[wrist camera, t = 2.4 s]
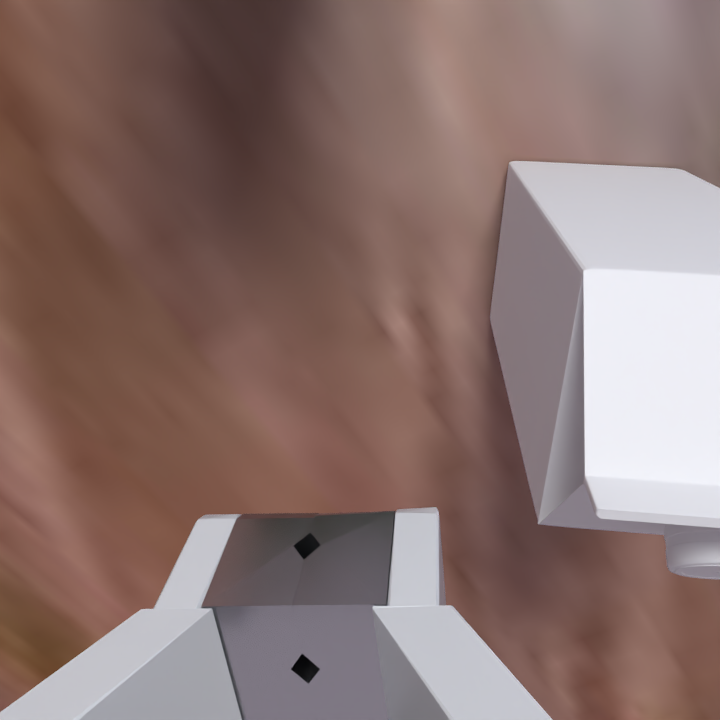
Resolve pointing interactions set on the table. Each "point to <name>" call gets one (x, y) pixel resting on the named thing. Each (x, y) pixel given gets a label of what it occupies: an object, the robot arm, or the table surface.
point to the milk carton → (615, 349)
